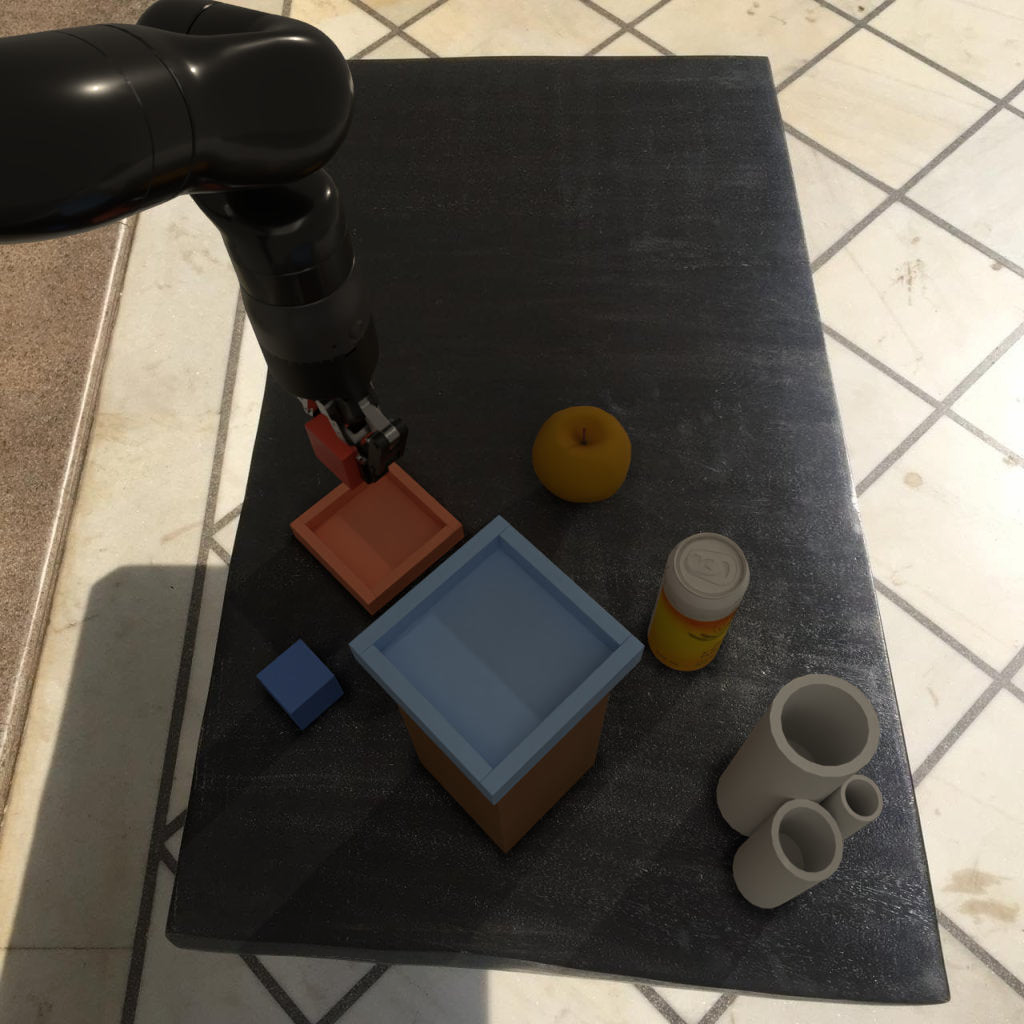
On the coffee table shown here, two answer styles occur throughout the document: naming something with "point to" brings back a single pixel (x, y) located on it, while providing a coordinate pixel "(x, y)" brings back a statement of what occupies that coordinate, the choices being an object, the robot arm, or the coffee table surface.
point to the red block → (334, 451)
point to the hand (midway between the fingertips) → (354, 455)
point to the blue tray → (500, 677)
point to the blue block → (300, 684)
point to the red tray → (378, 535)
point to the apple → (582, 454)
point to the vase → (800, 787)
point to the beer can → (697, 600)
